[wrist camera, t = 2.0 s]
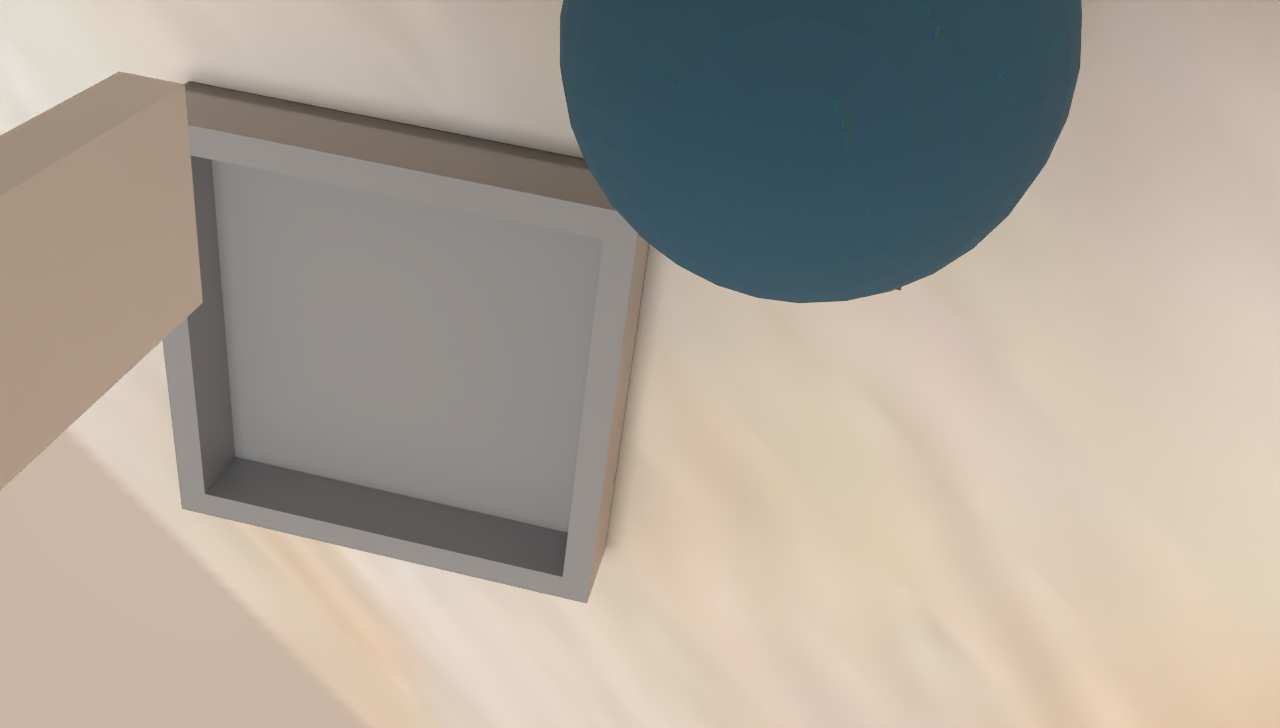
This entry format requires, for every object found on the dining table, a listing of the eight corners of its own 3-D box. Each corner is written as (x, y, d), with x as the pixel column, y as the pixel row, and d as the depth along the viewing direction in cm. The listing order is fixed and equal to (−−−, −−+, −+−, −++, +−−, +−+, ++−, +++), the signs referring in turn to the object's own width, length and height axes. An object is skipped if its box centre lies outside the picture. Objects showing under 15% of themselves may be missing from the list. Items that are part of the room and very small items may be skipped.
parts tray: (188, 81, 31) (137, 114, 29) (659, 174, 30) (640, 215, 28) (222, 459, 38) (182, 508, 36) (605, 547, 37) (586, 603, 35)
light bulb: (603, 45, 28) (433, 276, 18) (731, -339, 24) (597, -310, 14) (926, 178, 29) (933, 478, 19) (1116, -178, 24) (1263, -34, 14)
